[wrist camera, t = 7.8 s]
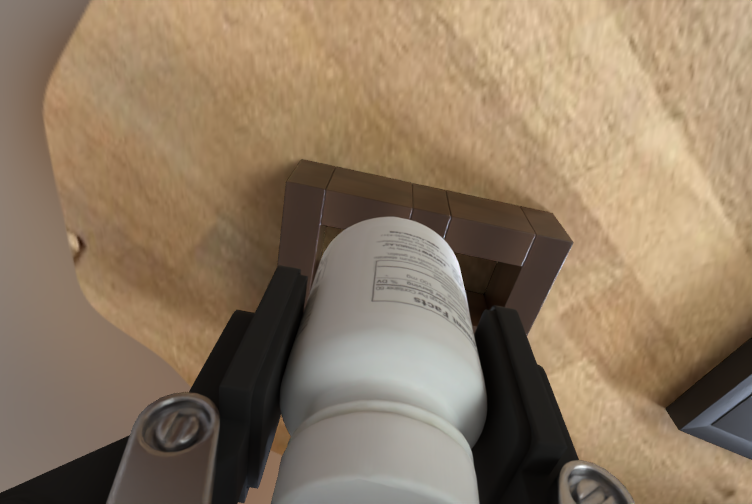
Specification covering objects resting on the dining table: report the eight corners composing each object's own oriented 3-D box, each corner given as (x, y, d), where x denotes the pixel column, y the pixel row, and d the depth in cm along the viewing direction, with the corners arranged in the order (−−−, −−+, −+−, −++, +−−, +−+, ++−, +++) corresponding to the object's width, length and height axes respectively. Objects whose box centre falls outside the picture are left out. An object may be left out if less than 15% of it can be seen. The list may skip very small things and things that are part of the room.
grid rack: (278, 350, 35) (264, 388, 31) (301, 158, 27) (285, 181, 23) (473, 388, 36) (480, 429, 32) (552, 212, 28) (573, 242, 24)
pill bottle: (361, 347, 15) (327, 625, 8) (293, 248, 13) (176, 501, 6) (481, 303, 14) (554, 586, 7) (424, 187, 12) (449, 421, 5)
